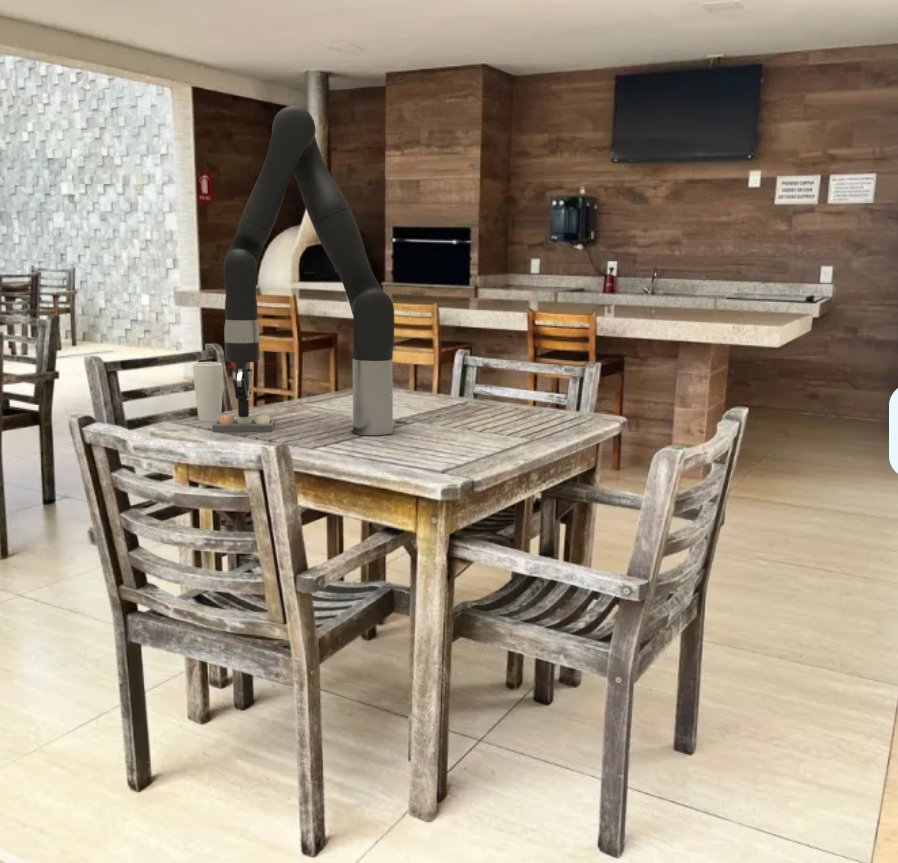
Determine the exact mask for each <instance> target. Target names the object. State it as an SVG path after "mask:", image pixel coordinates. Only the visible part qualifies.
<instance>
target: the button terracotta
mask: <svg viewBox="0 0 898 863" xmlns="http://www.w3.org/2000/svg"><path fill="white" fill-rule="evenodd" d="M234 419H235V416H234V415H229V414H224V415H223V414H222V415H221V416H219V422H220V424H234Z"/></svg>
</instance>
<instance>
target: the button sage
mask: <svg viewBox="0 0 898 863" xmlns="http://www.w3.org/2000/svg"><path fill="white" fill-rule="evenodd" d="M252 419H253V416H252V415H250V414H249V415H248V417H239V415H237V423H238V424H252Z"/></svg>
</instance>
